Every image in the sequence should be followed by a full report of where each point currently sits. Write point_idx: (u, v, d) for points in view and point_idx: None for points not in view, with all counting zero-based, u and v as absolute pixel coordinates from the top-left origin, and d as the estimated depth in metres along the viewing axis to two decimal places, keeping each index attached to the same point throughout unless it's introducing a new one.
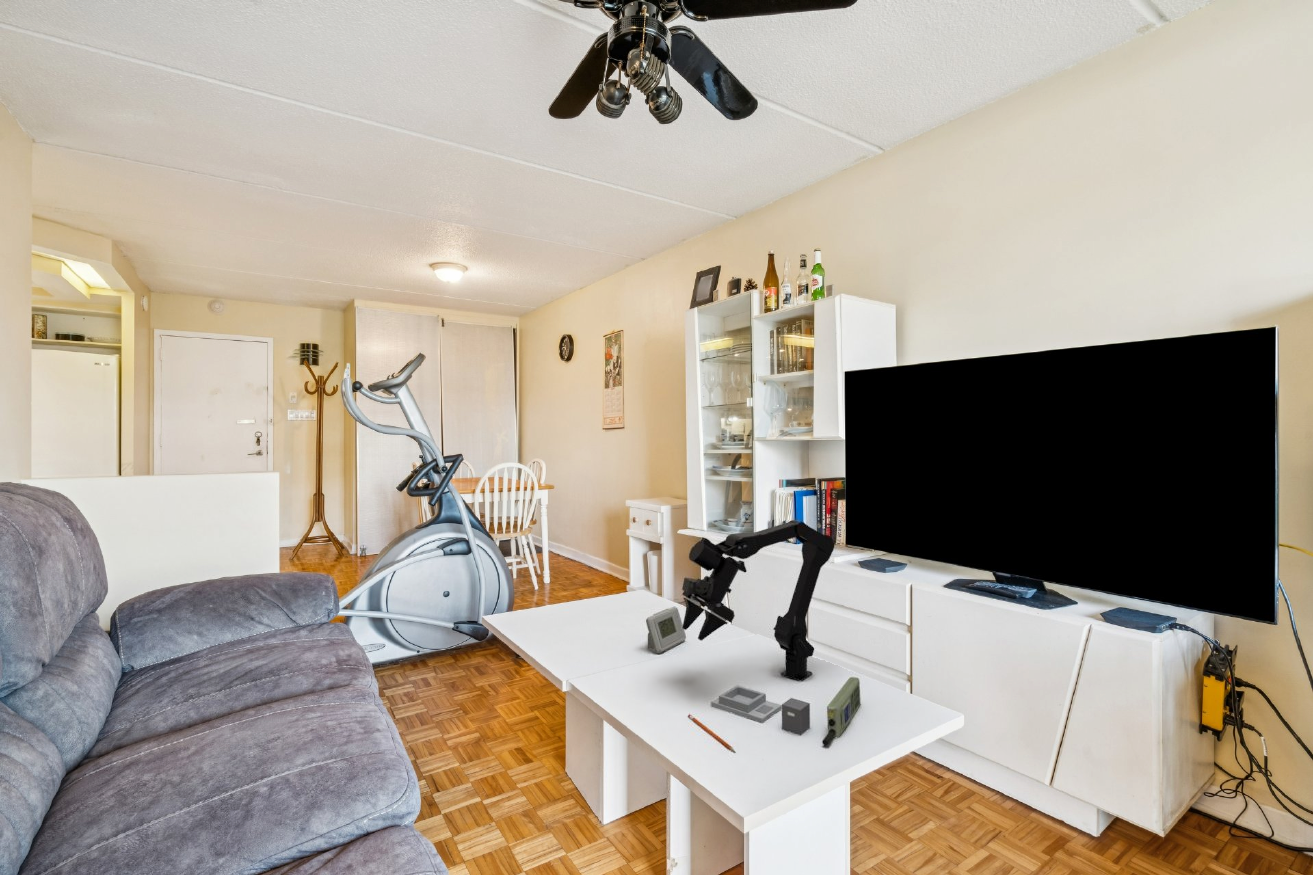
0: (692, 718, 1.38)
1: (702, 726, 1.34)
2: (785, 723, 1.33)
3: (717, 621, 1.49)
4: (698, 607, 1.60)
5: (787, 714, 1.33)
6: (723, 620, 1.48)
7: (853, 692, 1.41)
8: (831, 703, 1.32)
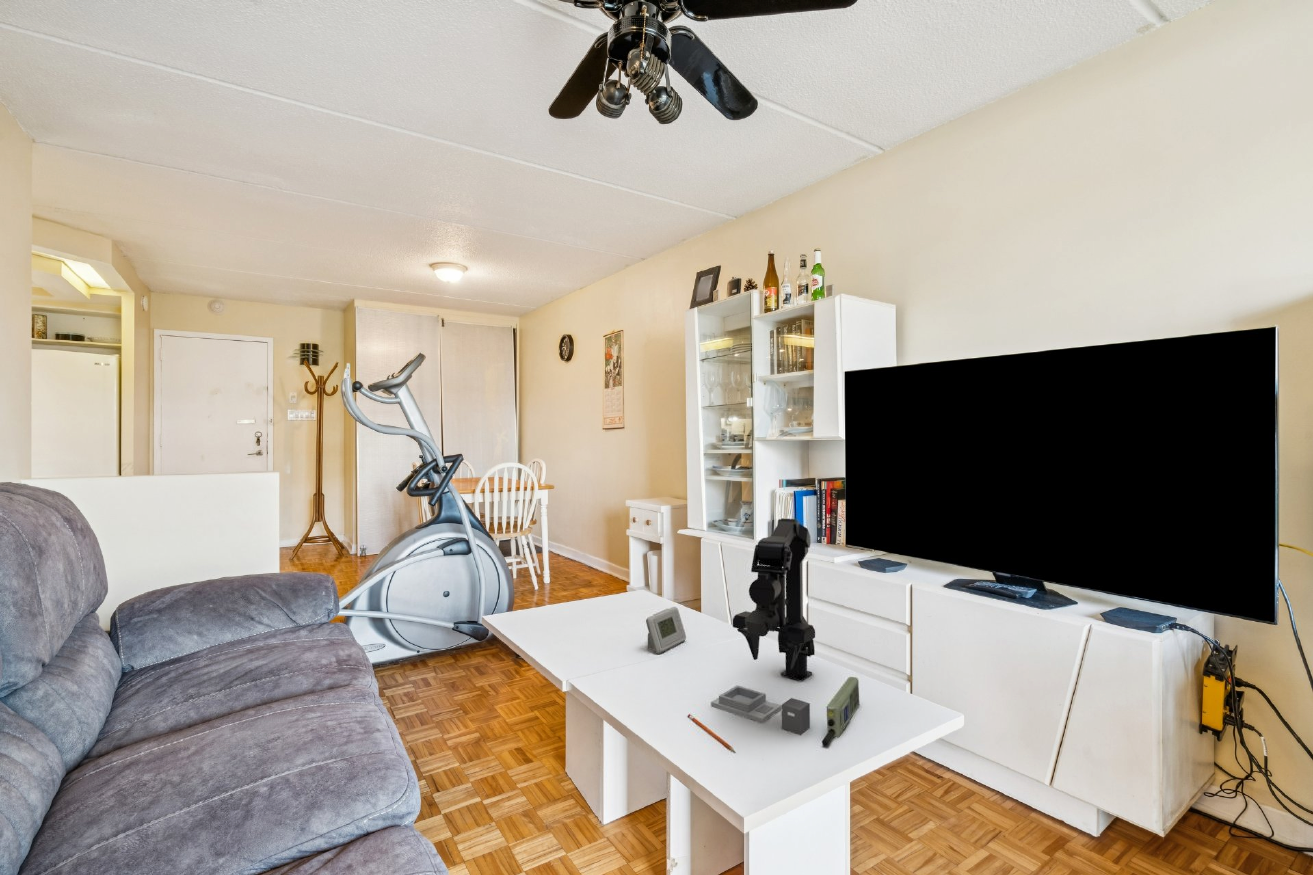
0: (692, 718, 1.38)
1: (702, 726, 1.34)
2: (785, 723, 1.33)
3: None
4: None
5: (787, 714, 1.33)
6: None
7: (852, 692, 1.41)
8: (830, 703, 1.32)
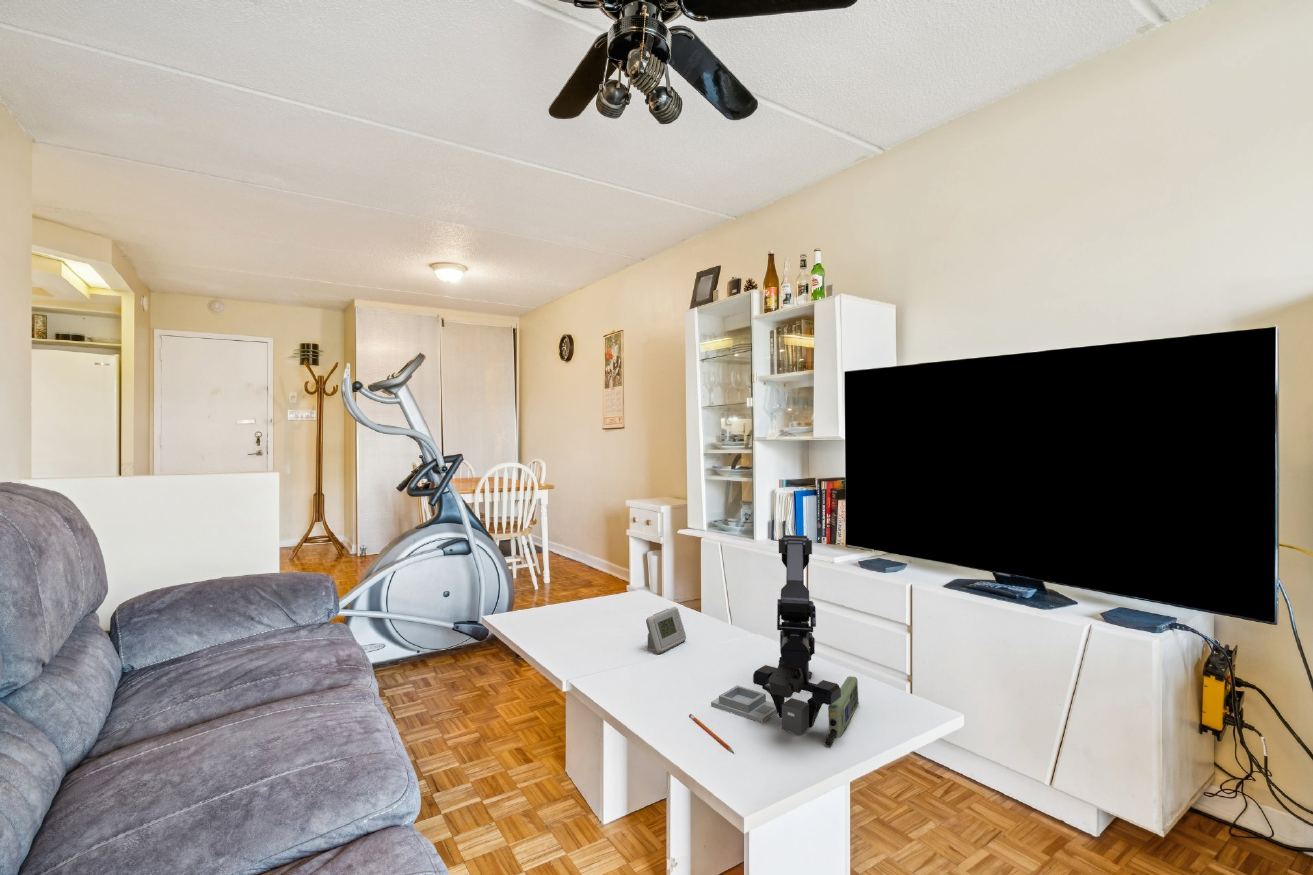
0: (693, 718, 1.38)
1: (702, 726, 1.34)
2: (785, 723, 1.33)
3: None
4: None
5: (787, 714, 1.33)
6: None
7: (852, 691, 1.41)
8: (832, 703, 1.32)
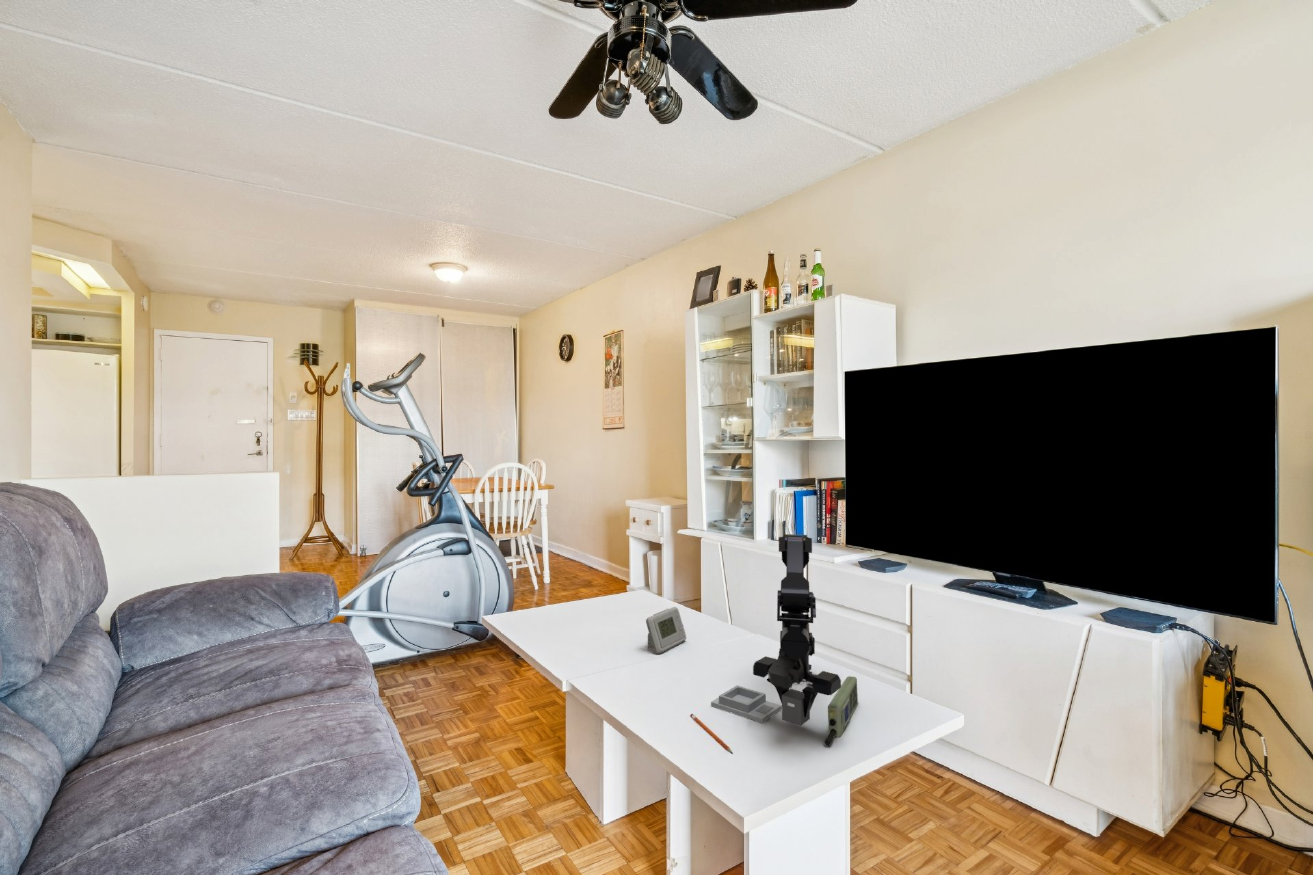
0: (694, 717, 1.39)
1: (703, 726, 1.35)
2: (785, 714, 1.33)
3: None
4: None
5: (787, 705, 1.33)
6: None
7: (851, 691, 1.41)
8: (831, 703, 1.33)
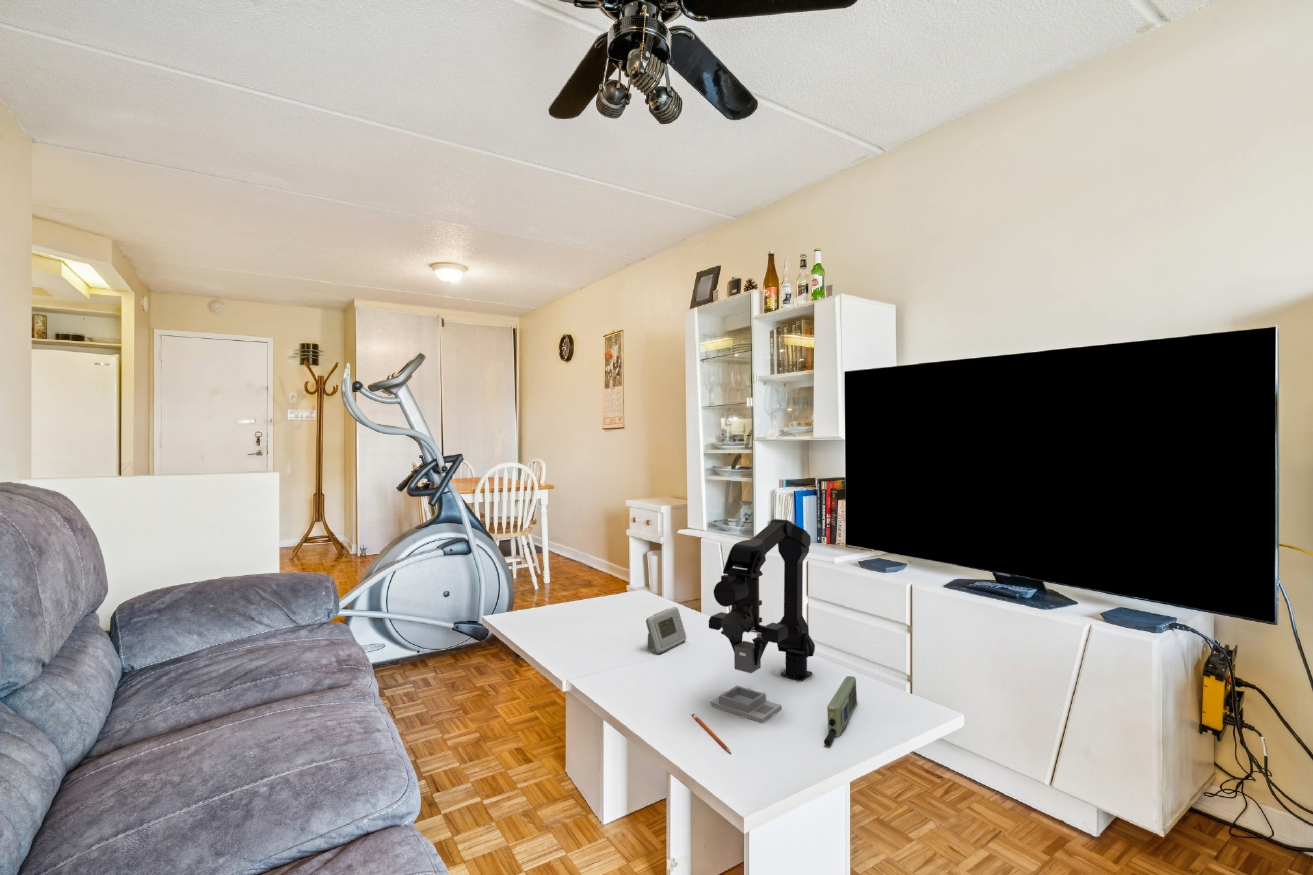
0: (695, 717, 1.39)
1: (703, 726, 1.35)
2: (737, 663, 1.43)
3: None
4: None
5: (739, 654, 1.43)
6: None
7: (851, 691, 1.41)
8: (831, 703, 1.33)
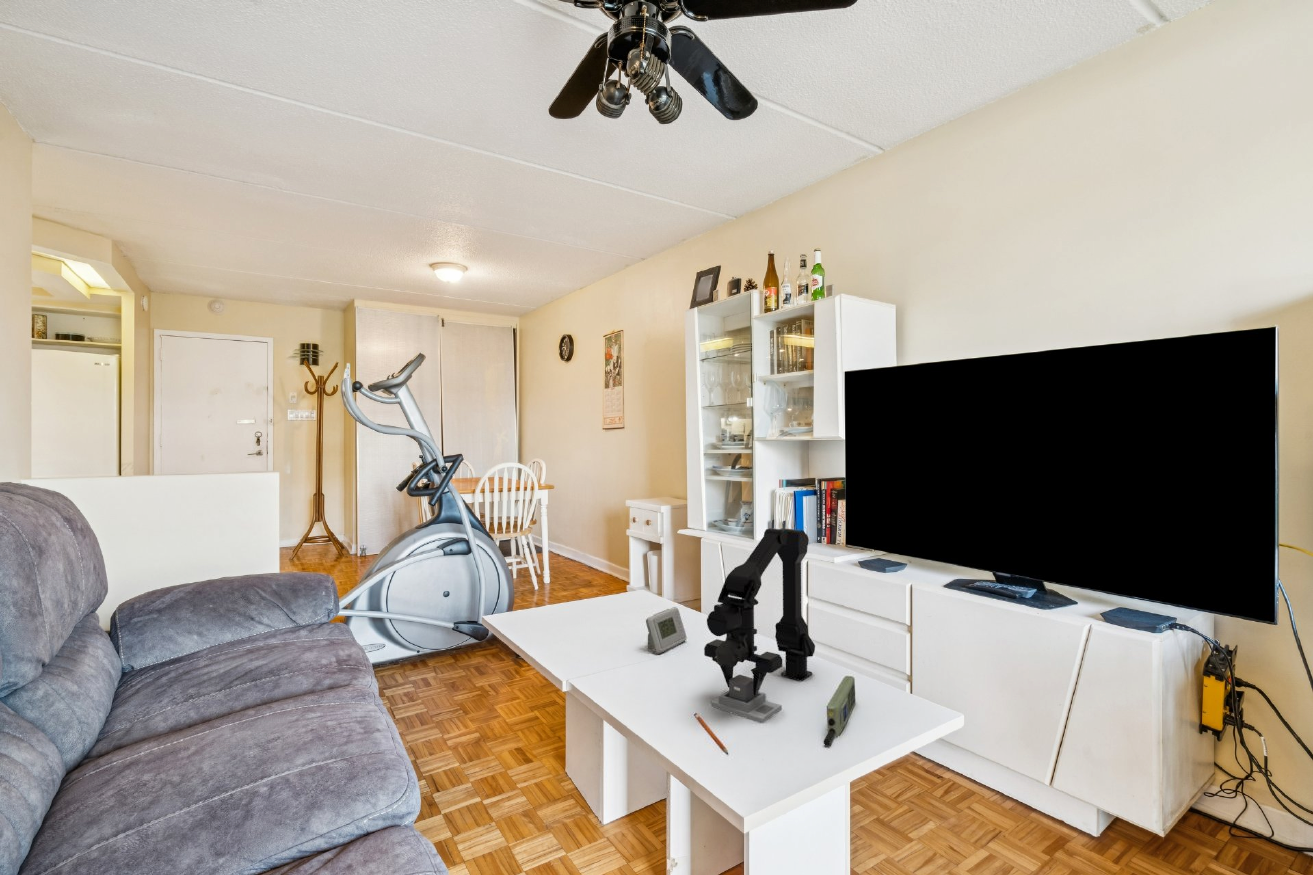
0: (697, 717, 1.39)
1: (704, 725, 1.35)
2: (732, 697, 1.44)
3: None
4: None
5: (734, 689, 1.44)
6: None
7: (849, 691, 1.42)
8: (830, 702, 1.33)
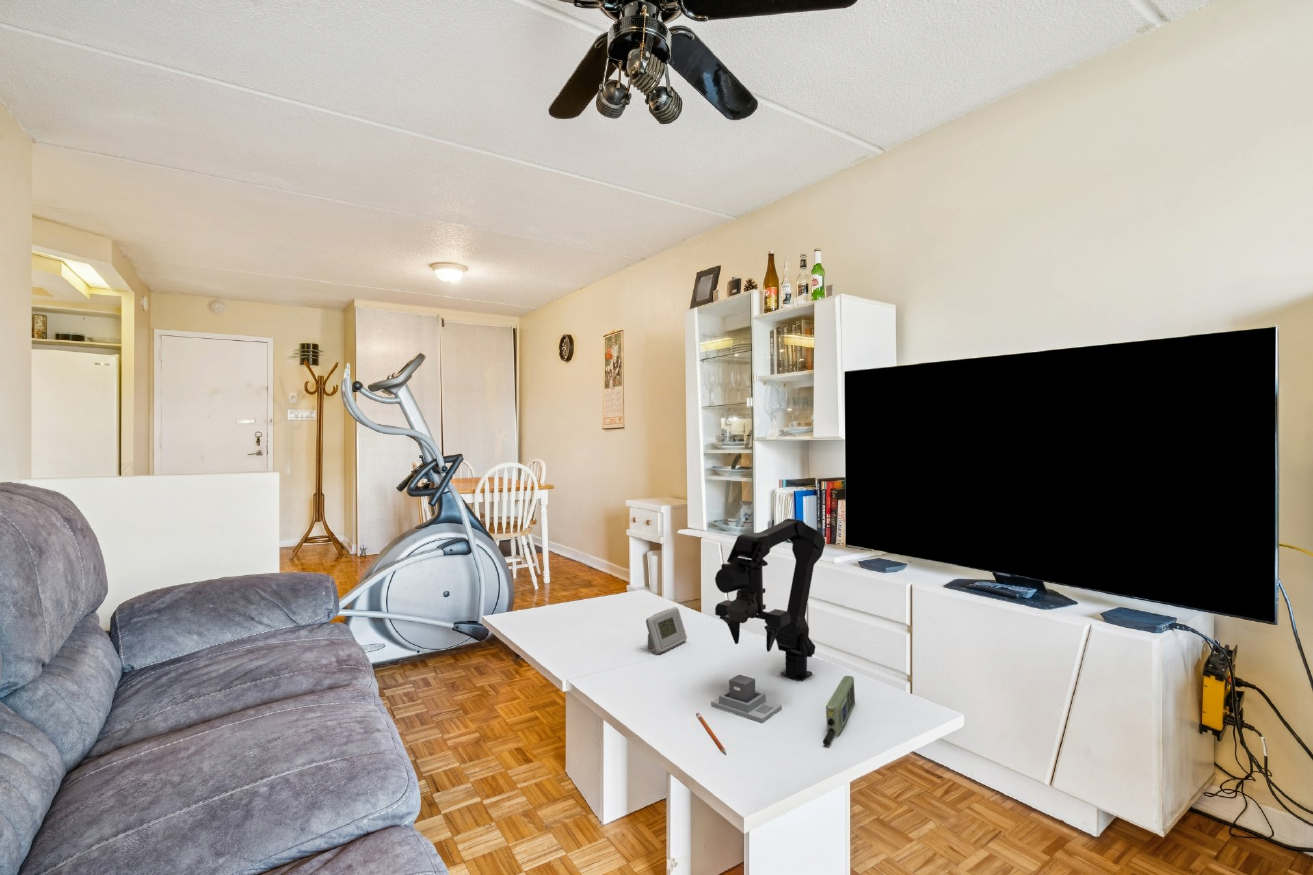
0: (699, 717, 1.39)
1: (705, 725, 1.35)
2: (732, 697, 1.44)
3: None
4: None
5: (734, 689, 1.44)
6: None
7: (849, 691, 1.42)
8: (830, 702, 1.33)
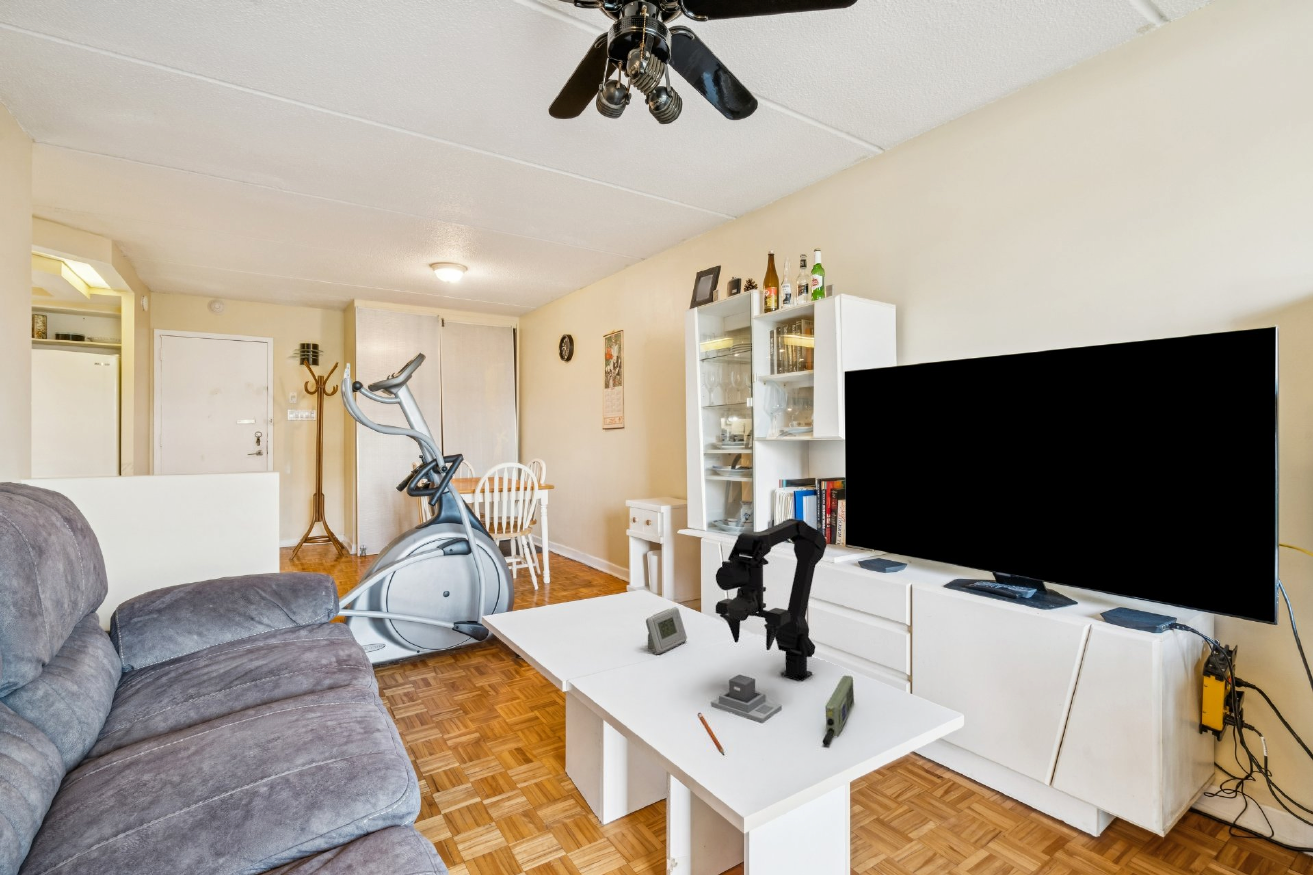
0: (700, 716, 1.39)
1: (705, 725, 1.35)
2: (732, 697, 1.44)
3: None
4: None
5: (734, 689, 1.44)
6: None
7: (848, 691, 1.42)
8: (829, 702, 1.33)
